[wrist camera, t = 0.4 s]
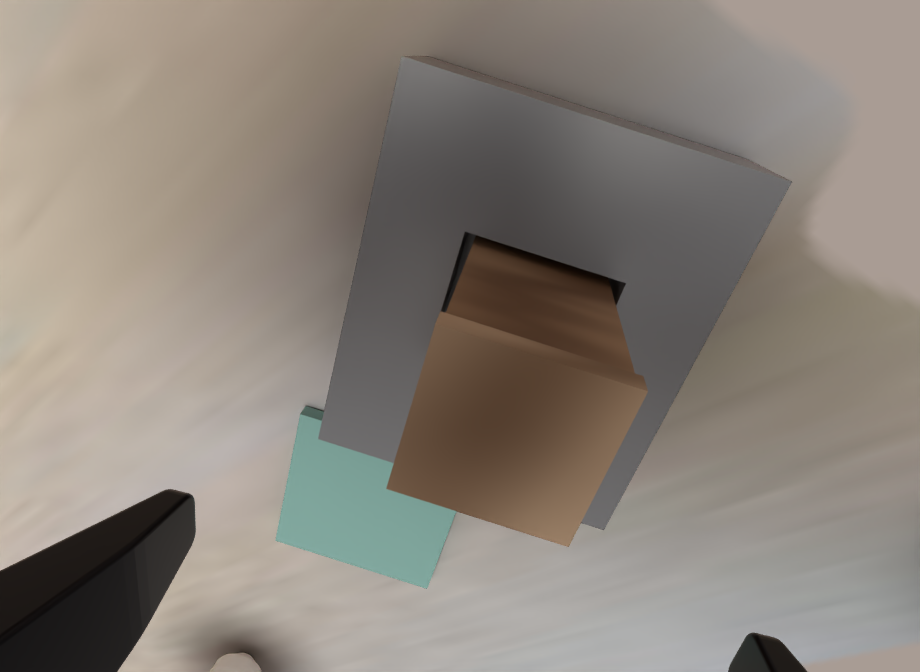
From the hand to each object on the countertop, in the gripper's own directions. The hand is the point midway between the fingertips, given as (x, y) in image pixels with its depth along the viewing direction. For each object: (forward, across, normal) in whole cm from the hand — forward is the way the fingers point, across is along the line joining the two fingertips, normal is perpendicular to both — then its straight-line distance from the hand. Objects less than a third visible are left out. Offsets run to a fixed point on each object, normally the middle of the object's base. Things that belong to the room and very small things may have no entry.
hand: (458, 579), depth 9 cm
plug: (+12, 0, 0) cm, 12 cm away
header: (+12, 0, 0) cm, 12 cm away
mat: (+12, +4, +10) cm, 16 cm away
